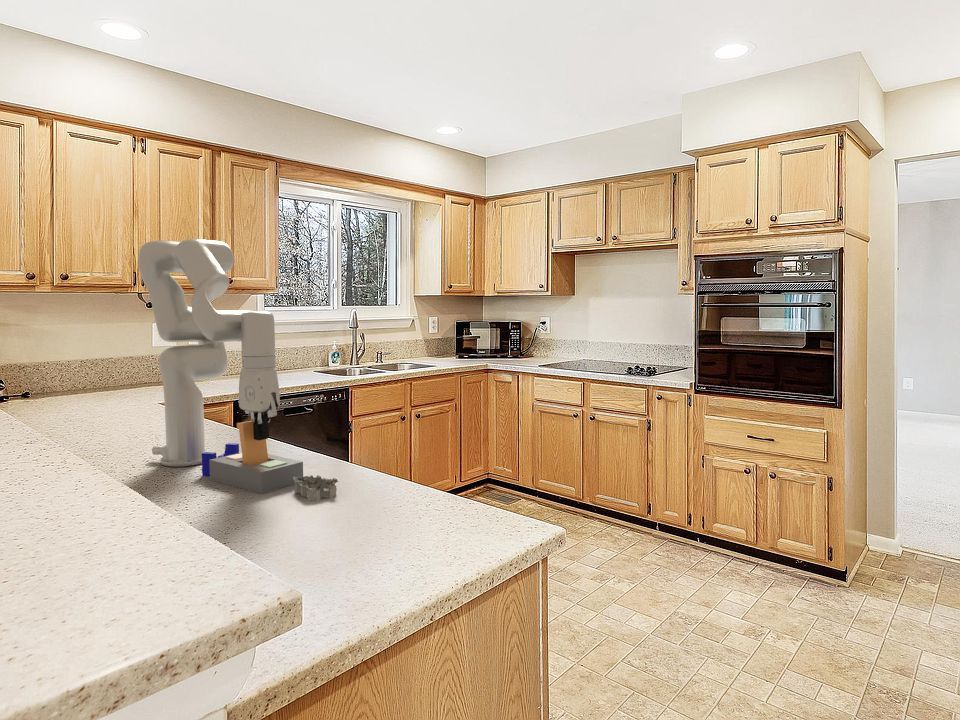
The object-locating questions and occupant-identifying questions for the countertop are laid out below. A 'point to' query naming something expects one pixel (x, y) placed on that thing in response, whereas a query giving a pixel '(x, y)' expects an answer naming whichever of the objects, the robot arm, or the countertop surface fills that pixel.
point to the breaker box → (255, 472)
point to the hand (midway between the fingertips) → (261, 438)
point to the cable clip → (206, 456)
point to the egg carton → (315, 487)
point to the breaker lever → (251, 445)
